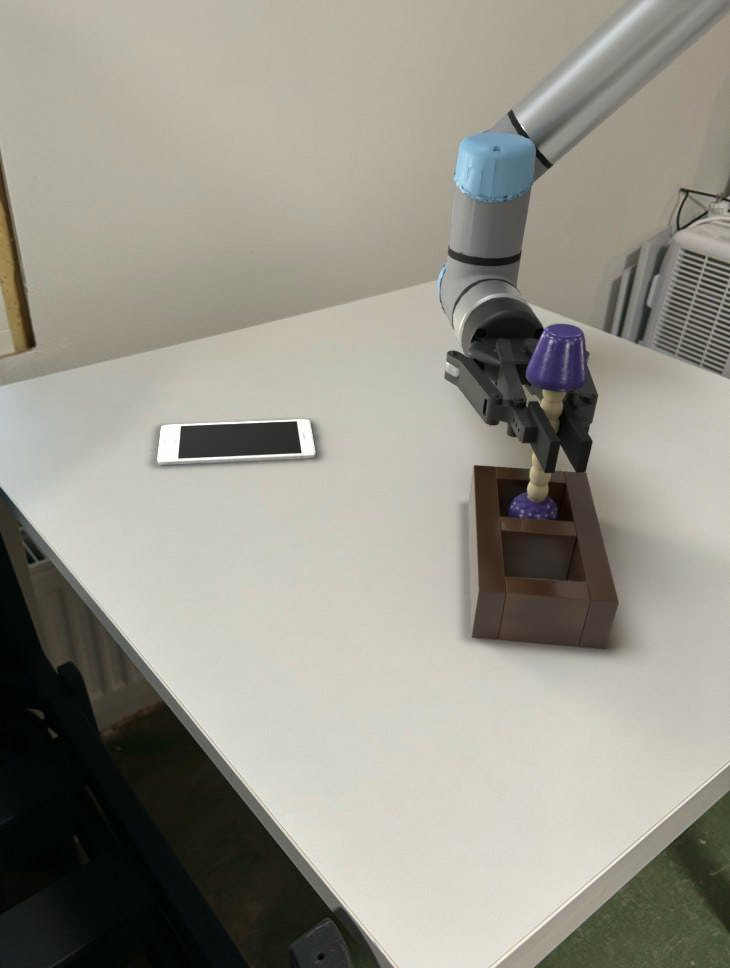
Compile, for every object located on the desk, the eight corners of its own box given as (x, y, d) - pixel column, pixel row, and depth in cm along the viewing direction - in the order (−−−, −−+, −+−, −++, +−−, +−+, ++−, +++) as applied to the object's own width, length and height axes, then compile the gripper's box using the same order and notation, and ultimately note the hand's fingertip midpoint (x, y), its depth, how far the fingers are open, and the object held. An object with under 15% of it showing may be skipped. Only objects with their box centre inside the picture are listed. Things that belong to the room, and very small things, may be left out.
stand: (575, 518, 77) (586, 472, 74) (604, 653, 62) (619, 602, 59) (467, 510, 78) (473, 464, 75) (470, 641, 63) (478, 590, 60)
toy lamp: (511, 532, 69) (548, 343, 59) (493, 501, 73) (525, 318, 63) (565, 528, 70) (611, 340, 60) (545, 498, 73) (584, 316, 63)
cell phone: (162, 429, 89) (161, 424, 89) (309, 423, 91) (309, 418, 90) (157, 467, 83) (156, 461, 83) (316, 459, 84) (316, 454, 84)
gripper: (566, 368, 83) (653, 497, 64) (420, 370, 82) (464, 501, 63) (580, 295, 78) (678, 410, 59) (426, 296, 78) (476, 413, 59)
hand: (568, 457), depth 61 cm, fingers closed on toy lamp, 2 cm apart
